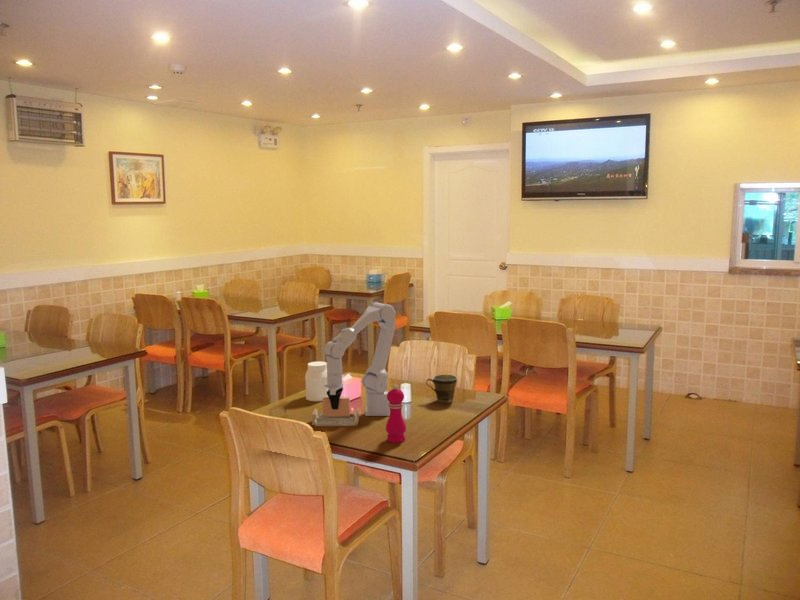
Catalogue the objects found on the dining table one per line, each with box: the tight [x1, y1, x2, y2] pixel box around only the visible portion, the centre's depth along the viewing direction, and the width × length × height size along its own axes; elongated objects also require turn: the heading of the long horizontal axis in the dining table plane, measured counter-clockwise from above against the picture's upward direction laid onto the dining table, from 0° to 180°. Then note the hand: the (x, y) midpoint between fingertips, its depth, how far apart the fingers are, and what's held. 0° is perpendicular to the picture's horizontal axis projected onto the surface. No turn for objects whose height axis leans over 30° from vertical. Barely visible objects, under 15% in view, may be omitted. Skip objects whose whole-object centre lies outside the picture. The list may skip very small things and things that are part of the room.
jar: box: [304, 360, 328, 402], centre depth 281 cm, size 12×10×15 cm
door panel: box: [322, 396, 351, 417], centre depth 248 cm, size 10×2×7 cm, turn 89°
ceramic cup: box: [425, 374, 458, 404], centre depth 274 cm, size 13×10×10 cm
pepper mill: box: [385, 384, 407, 444], centre depth 228 cm, size 7×7×20 cm
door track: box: [311, 407, 360, 427], centre depth 248 cm, size 17×8×4 cm, turn 89°
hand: (335, 408), depth 248 cm, fingers closed on door panel, 2 cm apart
